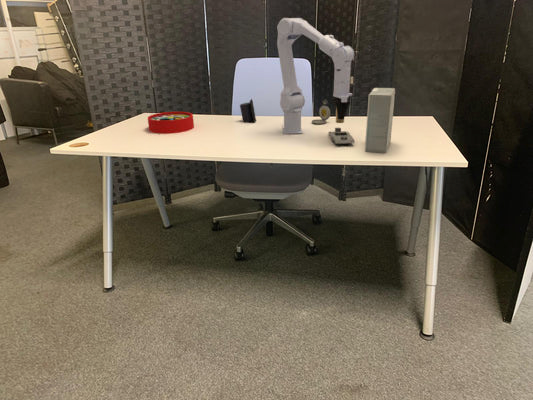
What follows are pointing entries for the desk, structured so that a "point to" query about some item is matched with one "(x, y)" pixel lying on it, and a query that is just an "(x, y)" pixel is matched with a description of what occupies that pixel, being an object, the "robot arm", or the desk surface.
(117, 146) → the desk surface
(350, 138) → the square cutout plate
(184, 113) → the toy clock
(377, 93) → the hard drive box
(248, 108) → the speaker
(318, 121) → the pocket watch
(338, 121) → the brass pin
